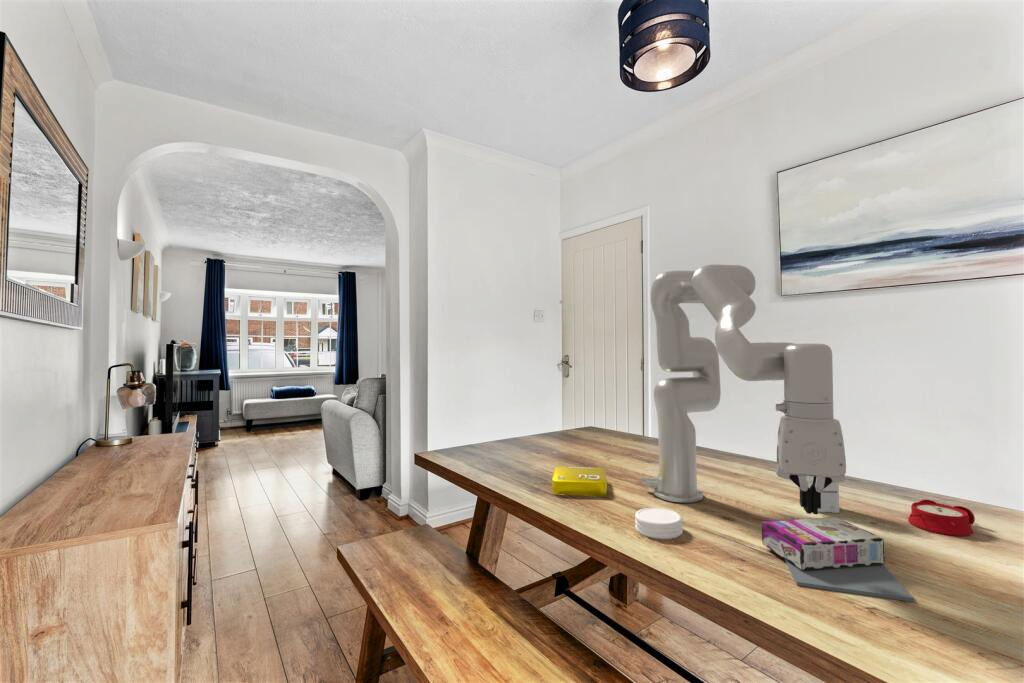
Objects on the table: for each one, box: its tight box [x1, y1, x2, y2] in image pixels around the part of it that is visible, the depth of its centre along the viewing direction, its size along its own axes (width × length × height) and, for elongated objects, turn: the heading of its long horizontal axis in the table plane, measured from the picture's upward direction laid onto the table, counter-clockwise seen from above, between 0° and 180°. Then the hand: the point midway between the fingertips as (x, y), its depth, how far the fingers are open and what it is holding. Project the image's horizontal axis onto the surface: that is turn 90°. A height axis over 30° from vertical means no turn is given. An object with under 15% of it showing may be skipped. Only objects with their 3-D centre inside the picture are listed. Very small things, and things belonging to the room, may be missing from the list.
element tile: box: [551, 466, 608, 497], centre depth 132 cm, size 15×15×5 cm
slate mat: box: [784, 559, 915, 603], centre depth 83 cm, size 16×16×1 cm
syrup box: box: [806, 476, 840, 514], centre depth 113 cm, size 6×6×14 cm
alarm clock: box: [907, 499, 976, 537], centre depth 102 cm, size 10×6×15 cm
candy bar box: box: [761, 516, 886, 570], centre depth 87 cm, size 11×5×16 cm
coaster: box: [634, 507, 684, 540], centre depth 102 cm, size 10×10×4 cm
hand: (810, 511), depth 84 cm, fingers closed
